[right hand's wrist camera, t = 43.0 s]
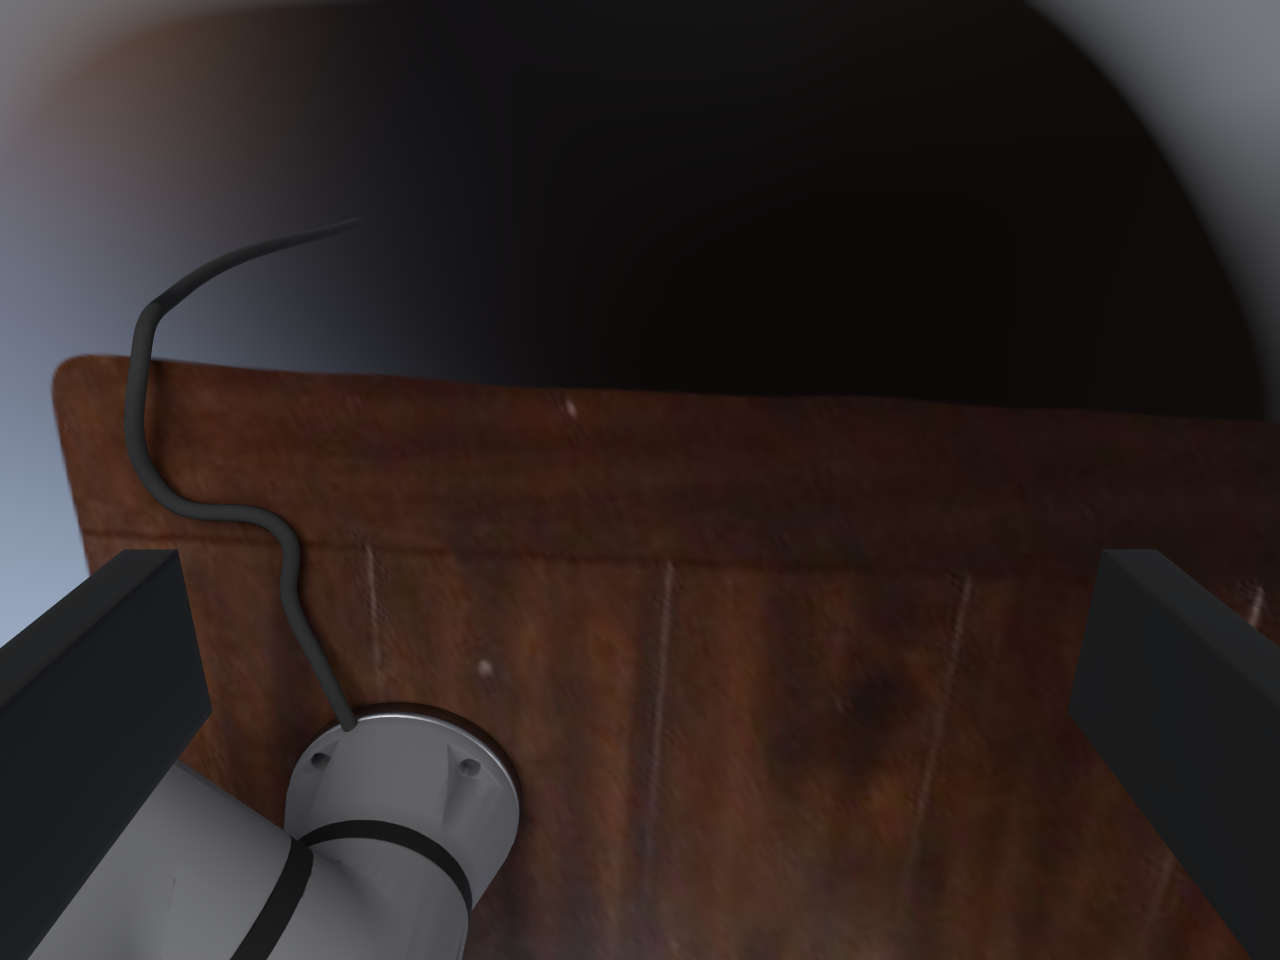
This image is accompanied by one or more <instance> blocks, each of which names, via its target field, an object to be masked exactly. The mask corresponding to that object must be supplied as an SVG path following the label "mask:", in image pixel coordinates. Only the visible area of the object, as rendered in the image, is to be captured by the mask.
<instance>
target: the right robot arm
mask: <svg viewBox="0 0 1280 960" xmlns="http://www.w3.org/2000/svg"><path fill="white" fill-rule="evenodd" d="M361 224H362V222H361V220H360V219H359V218H352V219H349V220H346V221H343V222H340V223H336V224H333V225H329V226H325V227H321V228H317V229H312V230H308V231H303V232H299V233H294V234H290V235H285V236H281V237H277V238H273V239H269V240H265V241H262V242H258V243H255V244H252V245H249V246H245V247H242V248H240V249H237V250H235V251H232V252H229V253H227V254H224V255H222V256H220V257H218V258H216V259H214V260H212V261H210V262H208V263H206V264H204V265H203V266H201V267H199V268H198V269H196V270H194V271H193V272H191V273H189V274H188V275H186V276H185V277H183V278H182V279H180V280H179V281H178V282H177V283H175V284H174V285H173V286H171V287H170V288H169V289H167V290H166V291H165V292H163V293H162V294H161V295H160V296H158V297H157V298H155V299H154V300H153V301H152V302H150V303H149V304H148V305H147V306H146V307H145V308H144V309H143V311H142V312H141V314H140V316H139V318H138V321H137V324H136V327H135V331H134V336H133V343H132V350H131V358H130V366H129V373H128V381H127V388H126V397H125V410H124V431H125V441H126V446H127V450H128V454H129V457H130V460H131V463H132V465H133V467H134V469H135V471H136V473H137V475H138V477H139V478H140V480H141V481H142V483H143V484H144V486H145V487H146V489H147V490H148V491H149V492H150V493H151V495H152V496H153V497H154V498H155V499H156V500H157V501H158V502H159V503H160V504H161V505H163V506H164V507H165V508H166V509H168V510H170V511H172V512H174V513H175V514H177V515H181V516H184V517H187V518H192V519H198V520H210V521H241V522H248V523H253V524H256V525H259V526H262V527H263V528H265V529H267V530H269V531H270V532H271V533H272V534H273V535H274V536H275V537H276V538H277V539H278V541H279V542H280V544H281V547H282V550H283V565H282V572H281V580H280V594H281V601H282V605H283V608H284V611H285V614H286V617H287V619H288V622H289V624H290V626H291V628H292V630H293V633H294V635H295V636H296V638H297V640H298V642H299V644H300V646H301V648H302V649H303V651H304V653H305V655H306V657H307V659H308V661H309V662H310V664H311V666H312V668H313V670H314V672H315V674H316V676H317V678H318V680H319V683H320V685H321V687H322V689H323V691H324V693H325V695H326V697H327V699H328V701H329V703H330V705H331V707H332V709H333V711H334V713H335V715H336V717H337V718H336V719H334V720H333V721H331V722H329V723H328V724H327V725H326V726H324V727H323V728H322V729H321V730H320V731H319V732H318V733H317V734H316V735H315V736H314V737H313V738H312V739H311V741H310V742H309V743H308V745H307V747H306V748H305V750H304V752H303V753H302V755H301V757H300V759H299V761H298V763H297V765H296V767H295V769H294V771H293V773H292V776H291V779H290V784H289V787H288V792H287V797H286V808H285V821H284V830H282V829H281V828H279V827H278V826H276V825H275V824H273V823H272V822H270V821H269V820H267V819H266V818H265V817H263V816H262V815H260V814H259V813H257V812H256V811H254V810H253V809H251V808H250V807H248V806H247V805H245V804H244V803H242V802H241V801H239V800H238V799H237V798H235V797H234V796H232V795H231V794H229V793H228V792H226V791H225V790H223V789H222V788H220V787H219V786H217V785H216V784H214V783H213V782H212V781H210V780H209V779H207V778H206V777H204V776H203V775H201V774H200V773H198V772H197V771H195V770H194V769H192V768H191V767H189V766H188V765H187V764H185V763H184V762H182V761H181V760H179V759H178V757H179V756H180V754H181V753H182V752H183V750H184V749H185V748H186V746H187V745H188V744H189V742H190V741H191V740H192V738H193V737H194V736H195V734H196V733H197V732H198V730H199V729H200V728H201V726H202V725H203V724H204V722H205V721H206V720H207V718H208V717H209V715H210V714H211V713H212V707H211V703H210V698H209V693H208V689H207V684H206V680H205V675H204V670H203V666H202V661H201V656H200V652H199V647H198V642H197V638H196V633H195V628H194V624H193V619H192V614H191V610H190V605H189V600H188V596H187V591H186V586H185V582H184V577H183V572H182V568H181V563H180V558H179V554H178V550H123V551H121V552H120V553H119V554H118V555H116V556H115V557H114V558H113V559H111V560H110V561H109V562H108V563H106V564H105V565H104V566H103V567H101V568H100V569H99V570H98V571H96V572H95V573H94V574H93V575H91V576H90V577H89V578H88V579H86V580H85V581H84V582H83V583H81V584H80V585H79V586H78V587H76V588H75V589H74V590H73V591H71V592H70V593H69V594H68V595H66V596H65V597H64V598H63V599H61V600H60V601H59V602H58V603H56V604H55V605H54V606H53V607H51V608H50V609H49V610H48V611H46V612H45V613H44V614H43V615H41V616H40V617H39V618H38V619H36V620H35V621H34V622H33V623H31V624H30V625H29V626H28V627H26V628H25V629H24V630H23V631H21V632H20V633H19V634H18V635H16V636H15V637H14V638H13V639H11V640H10V641H9V642H8V643H6V644H5V645H4V646H2V647H1V648H0V960H462V955H463V950H464V946H465V941H466V936H467V931H468V926H469V922H470V917H471V913H472V910H473V908H474V907H475V905H476V904H477V902H478V901H479V899H480V898H481V896H482V895H483V893H484V892H485V890H486V889H487V887H488V886H489V884H490V883H491V881H492V879H493V878H494V876H495V875H496V873H497V872H498V870H499V869H500V867H501V866H502V864H503V863H504V861H505V860H506V858H507V856H508V854H509V852H510V849H511V847H512V845H513V843H514V840H515V837H516V834H517V829H518V824H519V818H520V812H521V802H522V800H521V789H520V784H519V780H518V777H517V774H516V772H515V770H514V767H513V765H512V763H511V762H510V760H509V758H508V757H507V755H506V754H505V753H504V751H503V750H502V749H501V747H500V746H499V745H498V744H497V743H496V742H495V741H494V740H493V739H492V738H491V737H490V736H489V735H488V734H487V733H485V732H484V731H483V730H481V729H480V728H479V727H477V726H476V725H474V724H473V723H471V722H469V721H467V720H466V719H464V718H462V717H460V716H458V715H455V714H453V713H451V712H448V711H445V710H442V709H439V708H435V707H431V706H427V705H421V704H415V703H380V704H375V705H369V706H365V707H361V708H358V709H355V710H353V711H352V709H351V707H350V705H349V703H348V701H347V699H346V697H345V695H344V693H343V691H342V689H341V687H340V685H339V683H338V681H337V679H336V677H335V675H334V672H333V670H332V668H331V666H330V664H329V662H328V660H327V658H326V656H325V654H324V652H323V650H322V649H321V647H320V645H319V643H318V641H317V639H316V637H315V636H314V634H313V632H312V630H311V628H310V626H309V624H308V622H307V620H306V618H305V615H304V613H303V610H302V607H301V605H300V602H299V598H298V594H297V579H298V572H299V565H300V546H299V542H298V539H297V537H296V535H295V533H294V531H293V530H292V529H291V527H290V526H289V525H288V524H287V523H286V522H285V521H284V520H282V519H281V518H280V517H279V516H277V515H275V514H274V513H272V512H270V511H268V510H265V509H262V508H259V507H254V506H248V505H235V504H205V503H198V502H193V501H190V500H187V499H184V498H182V497H181V496H179V495H177V494H176V493H175V492H174V491H173V490H172V489H170V487H169V486H168V485H167V484H166V482H165V481H164V480H163V479H162V477H161V476H160V474H159V473H158V471H157V470H156V468H155V466H154V464H153V462H152V460H151V458H150V455H149V452H148V449H147V445H146V440H145V431H144V409H145V398H146V390H147V382H148V375H149V367H150V360H151V352H152V344H153V338H154V334H155V330H156V328H157V325H158V323H159V322H160V320H161V319H162V318H163V316H164V315H165V314H167V313H168V312H169V311H170V310H171V309H173V308H174V307H175V306H176V305H178V304H179V303H180V302H181V301H182V300H184V299H185V298H186V297H187V296H188V295H190V294H191V293H192V292H193V291H195V290H196V289H197V288H198V287H200V286H201V285H203V284H204V283H206V282H207V281H209V280H210V279H212V278H213V277H215V276H217V275H219V274H221V273H223V272H225V271H227V270H229V269H231V268H233V267H235V266H237V265H240V264H242V263H244V262H247V261H249V260H252V259H255V258H258V257H261V256H264V255H267V254H270V253H273V252H277V251H280V250H284V249H287V248H291V247H295V246H299V245H303V244H306V243H310V242H314V241H318V240H322V239H325V238H329V237H332V236H336V235H339V234H342V233H345V232H348V231H350V230H353V229H356V228H358V227H360V226H361ZM1068 713H1069V714H1070V715H1071V717H1072V718H1073V720H1074V721H1075V722H1076V724H1077V725H1078V726H1079V728H1080V729H1081V730H1082V732H1083V733H1084V734H1085V736H1086V737H1087V738H1088V740H1089V741H1090V742H1091V744H1092V745H1093V746H1094V748H1095V749H1096V750H1097V752H1098V753H1099V754H1100V756H1101V757H1102V759H1103V760H1104V761H1105V763H1106V764H1107V765H1108V767H1109V768H1110V769H1111V771H1112V772H1113V773H1114V775H1115V776H1116V777H1117V779H1118V780H1119V781H1120V783H1121V784H1122V785H1123V787H1124V788H1125V789H1126V791H1127V792H1128V793H1129V795H1130V796H1131V797H1132V799H1133V800H1134V802H1135V803H1136V804H1137V806H1138V807H1139V808H1140V810H1141V811H1142V812H1143V814H1144V815H1145V816H1146V818H1147V819H1148V820H1149V822H1150V823H1151V824H1152V826H1153V827H1154V828H1155V830H1156V831H1157V832H1158V834H1159V835H1160V836H1161V838H1162V839H1163V840H1164V842H1165V843H1166V845H1167V846H1168V847H1169V849H1170V850H1171V851H1172V853H1173V854H1174V855H1175V857H1176V858H1177V859H1178V861H1179V862H1180V863H1181V865H1182V866H1183V867H1184V869H1185V870H1186V871H1187V873H1188V874H1189V875H1190V877H1191V878H1192V879H1193V881H1194V882H1195V884H1196V885H1197V886H1198V888H1199V889H1200V890H1201V892H1202V893H1203V894H1204V896H1205V897H1206V898H1207V900H1208V901H1209V902H1210V904H1211V905H1212V906H1213V908H1214V909H1215V910H1216V912H1217V913H1218V914H1219V916H1220V917H1221V918H1222V920H1223V921H1224V922H1225V924H1226V925H1227V927H1228V928H1229V929H1230V931H1231V932H1232V933H1233V935H1234V936H1235V937H1236V939H1237V940H1238V941H1239V943H1240V944H1241V945H1242V947H1243V948H1244V949H1245V951H1246V952H1247V953H1248V955H1249V956H1250V957H1251V959H1252V960H1280V648H1279V647H1278V646H1276V645H1275V644H1274V643H1273V642H1271V641H1270V640H1269V639H1267V638H1266V637H1265V636H1264V635H1262V634H1261V633H1260V632H1259V631H1257V630H1256V629H1255V628H1254V627H1252V626H1251V625H1250V624H1249V623H1247V622H1246V621H1245V620H1244V619H1242V618H1241V617H1240V616H1239V615H1237V614H1236V613H1235V612H1234V611H1232V610H1231V609H1230V608H1229V607H1227V606H1226V605H1225V604H1224V603H1222V602H1221V601H1220V600H1219V599H1217V598H1216V597H1215V596H1214V595H1212V594H1211V593H1210V592H1209V591H1207V590H1206V589H1205V588H1204V587H1202V586H1201V585H1200V584H1199V583H1197V582H1196V581H1195V580H1194V579H1192V578H1191V577H1190V576H1189V575H1187V574H1186V573H1185V572H1184V571H1182V570H1181V569H1180V568H1179V567H1177V566H1176V565H1175V564H1174V563H1172V562H1171V561H1170V560H1169V559H1167V558H1166V557H1165V556H1164V555H1162V554H1161V553H1160V552H1159V551H1157V550H1102V554H1101V558H1100V563H1099V568H1098V572H1097V577H1096V582H1095V586H1094V591H1093V596H1092V600H1091V605H1090V610H1089V614H1088V619H1087V624H1086V628H1085V633H1084V638H1083V642H1082V647H1081V652H1080V656H1079V661H1078V666H1077V670H1076V675H1075V680H1074V684H1073V689H1072V693H1071V698H1070V703H1069V707H1068Z"/></svg>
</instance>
